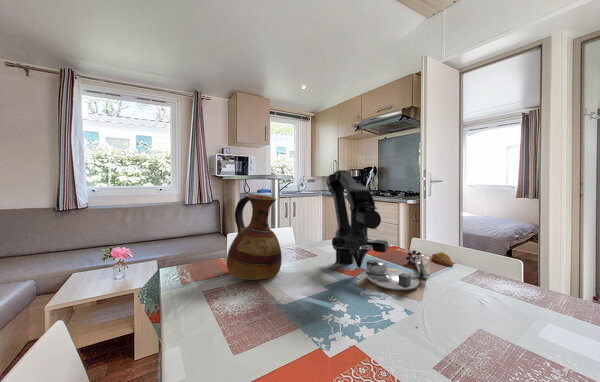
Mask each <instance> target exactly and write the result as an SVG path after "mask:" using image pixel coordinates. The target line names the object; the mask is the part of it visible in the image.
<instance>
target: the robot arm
mask: <svg viewBox="0 0 600 382" xmlns="http://www.w3.org/2000/svg"><path fill="white" fill-rule="evenodd" d="M326 186H327V189H328V192H329V193H330V194H331V195H332V197H333V204H334V210H335V215H336V221H337V229H336V231H335V233H334V234H335V235H334V237H333V238H331V246H332V249H333V250H335V262H334V265H335V266H336V265H337V264H338V263H340V264H342V265H348V264H349V265H353V264H356V266H357V268H359V269H360V268H362V265H363V261H364V260H365V257H366V256H367V253H369V252H370V251H371V250H373V251H374V252H376V253H386V252H387V251H388V250H389V243H388V241H387V240H383V239H382V240H381V239H375V240H374V241H369V236H368V229H371V230H374V229H376V228H379V226H380V224H381V222H382V218H381V215H380V213H379V212H378V211H376V205H375V204H376V202H375V200H374V198H373V196H372V193H371V190H370V189H369V188H368V187H366V186H365V185H362V184H359V183H358V182H357V181H356V180H355V179H354V178H353V177H352V175H351V174H350V171H349V170H346V169H345V170H344V169H343V170H342V169H341V170H340V169H339V170H336V171H335V172H333V173H332V174H329V175H328V176H327V177H326ZM345 191H346V199H345V193H344V192H345ZM346 200H347V201H348V204H349V210H350V220H349V214H348V210H347V205H346Z"/></svg>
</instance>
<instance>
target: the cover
mask: <svg viewBox="0 0 600 382" xmlns="http://www.w3.org/2000/svg"><path fill="white" fill-rule="evenodd" d="M387 265H388V264H387V262H386V261H384V260H381V259H369V260H367V261H366V271H365V274H366V275H367V276H369V277H372V278H377V279H382V278H386V277H387V276H388V273H387V268H388V266H387Z"/></svg>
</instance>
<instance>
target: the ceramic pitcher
mask: <svg viewBox="0 0 600 382" xmlns="http://www.w3.org/2000/svg"><path fill="white" fill-rule="evenodd" d="M276 201H277V198H275V197H272V196H268V195H262V194H253V193H252V194H248V195H245V196H244V197H242V198H240V200H239V201H238V202H237V204H236V207H235V211H234V221H235V225H236V229H237V234H236V235H235V237H234V239H233V240H232V242H231V244H230V247H229V249H228V251H227V256H226V267H227V269H226V270H228V272H229V273H230V275H231V276H233V277H234V278H237V279H240V280H262V279H263V280H264V279H269V278H273V277H276V276H277V275H278V274H279V272H280V270H281V266H282V261H283V259H282V255H283V254H282V250H281V245H280V242H279V239H278V237H277V234H276V233H275V232H274V231H273V230H272V229H271V228H270V225H269V214H270V208H271V206H272V205H273V204H274V203H275V202H276ZM249 202H250V205H251V207H252V210H251V213H252V214H251V219H250V222H249V224H248V225H247V226H245V223H244V217H243V214H244V213H243V212H244V209H245V207H246V205H247V204H248V203H249Z"/></svg>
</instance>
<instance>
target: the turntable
mask: <svg viewBox="0 0 600 382" xmlns="http://www.w3.org/2000/svg"><path fill="white" fill-rule="evenodd" d="M387 273H388V276H387V277H386V278H382V279H377V278H372V277H369V276H368V280H369V282H370V283H371V284H373V285H375V286H377V287H379V288H382V289H386V290H391V291H411V290H414V289H416V288H418V286H419V279H418V278H417V277H416V276H415V273H414V274H413V273H412V272H409V271H407V270H403V269H398V268H392V267H387Z"/></svg>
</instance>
